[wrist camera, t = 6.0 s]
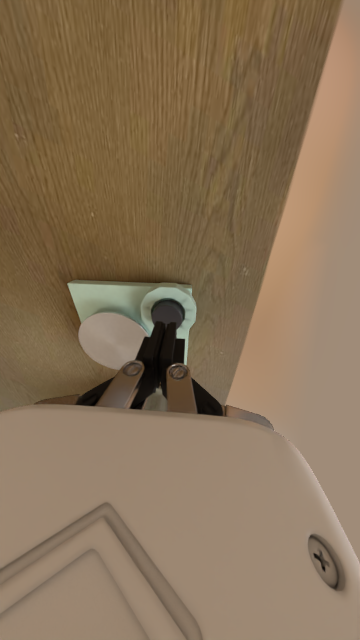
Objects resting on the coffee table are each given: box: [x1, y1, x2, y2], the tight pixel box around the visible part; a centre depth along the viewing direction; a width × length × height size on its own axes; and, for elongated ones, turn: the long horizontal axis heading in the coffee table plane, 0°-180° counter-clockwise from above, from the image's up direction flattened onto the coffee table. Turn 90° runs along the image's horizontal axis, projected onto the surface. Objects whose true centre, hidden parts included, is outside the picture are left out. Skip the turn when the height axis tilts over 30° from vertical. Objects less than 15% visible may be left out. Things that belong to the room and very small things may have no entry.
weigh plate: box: [78, 312, 150, 370], centre depth 19 cm, size 9×9×1 cm
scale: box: [67, 280, 196, 365], centre depth 20 cm, size 14×13×3 cm
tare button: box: [152, 300, 183, 329], centre depth 16 cm, size 3×3×2 cm
